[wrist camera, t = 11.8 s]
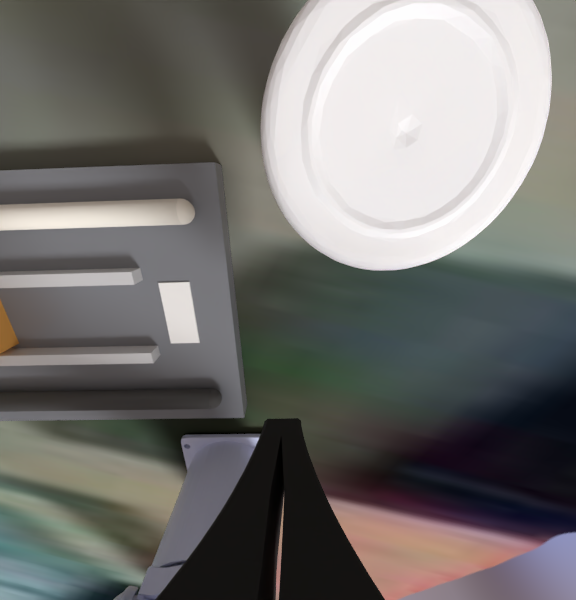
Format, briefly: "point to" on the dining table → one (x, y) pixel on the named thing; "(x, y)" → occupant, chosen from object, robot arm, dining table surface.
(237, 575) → the robot arm
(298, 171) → the sprinkles bottle
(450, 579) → the dining table surface
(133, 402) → the dark grey rounded rod
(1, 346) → the block
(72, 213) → the white rounded rod
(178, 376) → the panel
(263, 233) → the dining table surface
